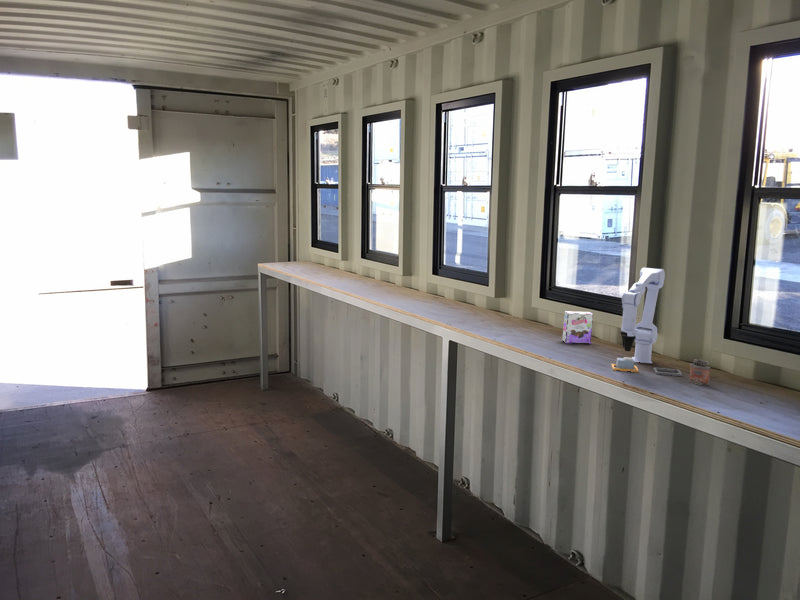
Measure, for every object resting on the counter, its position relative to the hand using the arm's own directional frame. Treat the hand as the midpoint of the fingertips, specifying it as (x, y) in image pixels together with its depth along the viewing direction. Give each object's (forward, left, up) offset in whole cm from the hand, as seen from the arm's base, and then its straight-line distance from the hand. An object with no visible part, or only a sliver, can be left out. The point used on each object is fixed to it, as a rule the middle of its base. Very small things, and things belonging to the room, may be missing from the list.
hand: (626, 349), depth 284 cm
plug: (0, 0, -9) cm, 9 cm away
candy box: (-50, -19, -9) cm, 54 cm away
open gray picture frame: (0, +18, -9) cm, 20 cm away
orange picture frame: (0, 0, -9) cm, 9 cm away
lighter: (+13, +28, -9) cm, 32 cm away
